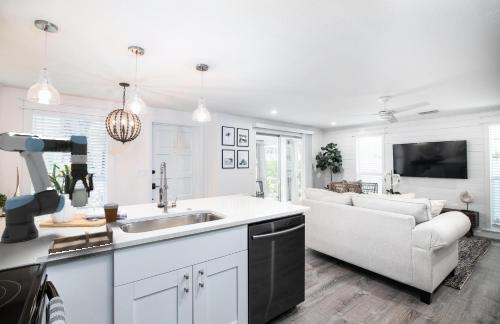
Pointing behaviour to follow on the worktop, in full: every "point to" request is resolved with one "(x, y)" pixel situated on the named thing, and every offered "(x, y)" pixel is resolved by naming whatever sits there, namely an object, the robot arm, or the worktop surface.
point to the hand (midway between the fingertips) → (79, 204)
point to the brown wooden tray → (81, 241)
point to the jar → (80, 197)
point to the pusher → (87, 234)
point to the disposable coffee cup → (111, 212)
